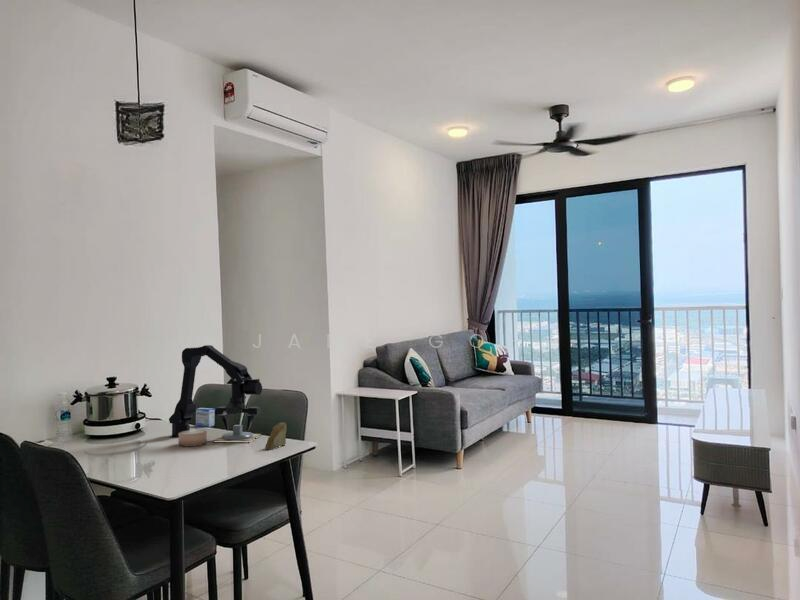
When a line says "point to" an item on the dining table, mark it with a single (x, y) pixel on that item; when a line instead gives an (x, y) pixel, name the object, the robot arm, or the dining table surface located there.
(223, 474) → the dining table surface
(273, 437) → the rock
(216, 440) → the board
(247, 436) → the lid
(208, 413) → the medicine box
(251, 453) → the dining table surface
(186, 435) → the bowl
